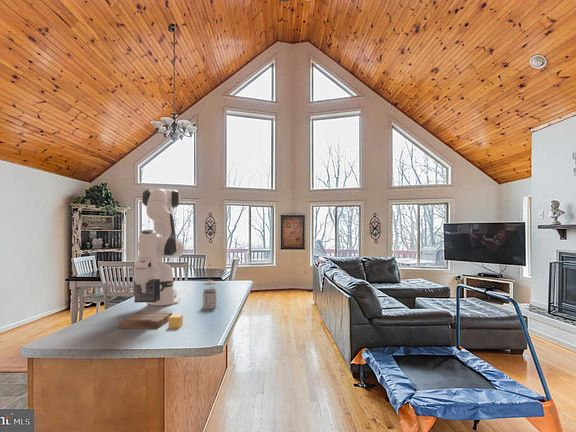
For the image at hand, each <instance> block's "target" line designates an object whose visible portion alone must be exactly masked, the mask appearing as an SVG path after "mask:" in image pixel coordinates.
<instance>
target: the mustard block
mask: <svg viewBox="0 0 576 432" xmlns="http://www.w3.org/2000/svg"><path fill="white" fill-rule="evenodd" d="M183 316H184V315H183V314H172V315H171V316H170V317H169V321H168V329H180V328H182V326H183V324H184V323H183V321H184V318H183Z"/></svg>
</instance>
